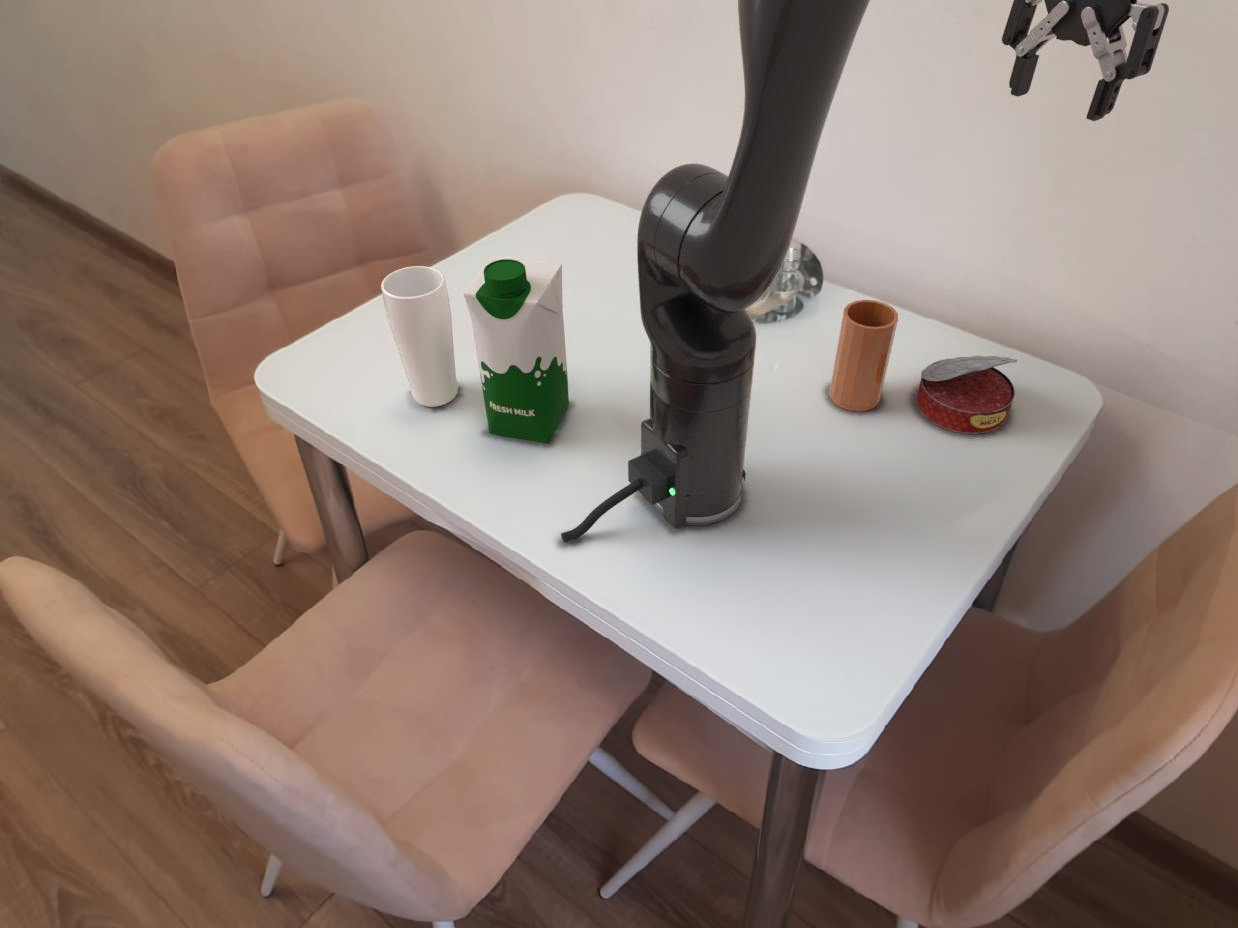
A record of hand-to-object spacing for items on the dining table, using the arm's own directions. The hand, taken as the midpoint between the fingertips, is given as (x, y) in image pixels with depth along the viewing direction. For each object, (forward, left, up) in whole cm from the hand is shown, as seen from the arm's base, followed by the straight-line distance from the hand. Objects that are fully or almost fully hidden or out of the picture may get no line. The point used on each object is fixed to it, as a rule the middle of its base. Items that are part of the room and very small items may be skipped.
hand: (1056, 106), depth 88 cm
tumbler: (-20, +2, -29) cm, 35 cm away
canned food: (-11, -6, -29) cm, 32 cm away
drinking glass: (-59, +29, -29) cm, 72 cm away
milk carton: (-52, +19, -29) cm, 63 cm away
